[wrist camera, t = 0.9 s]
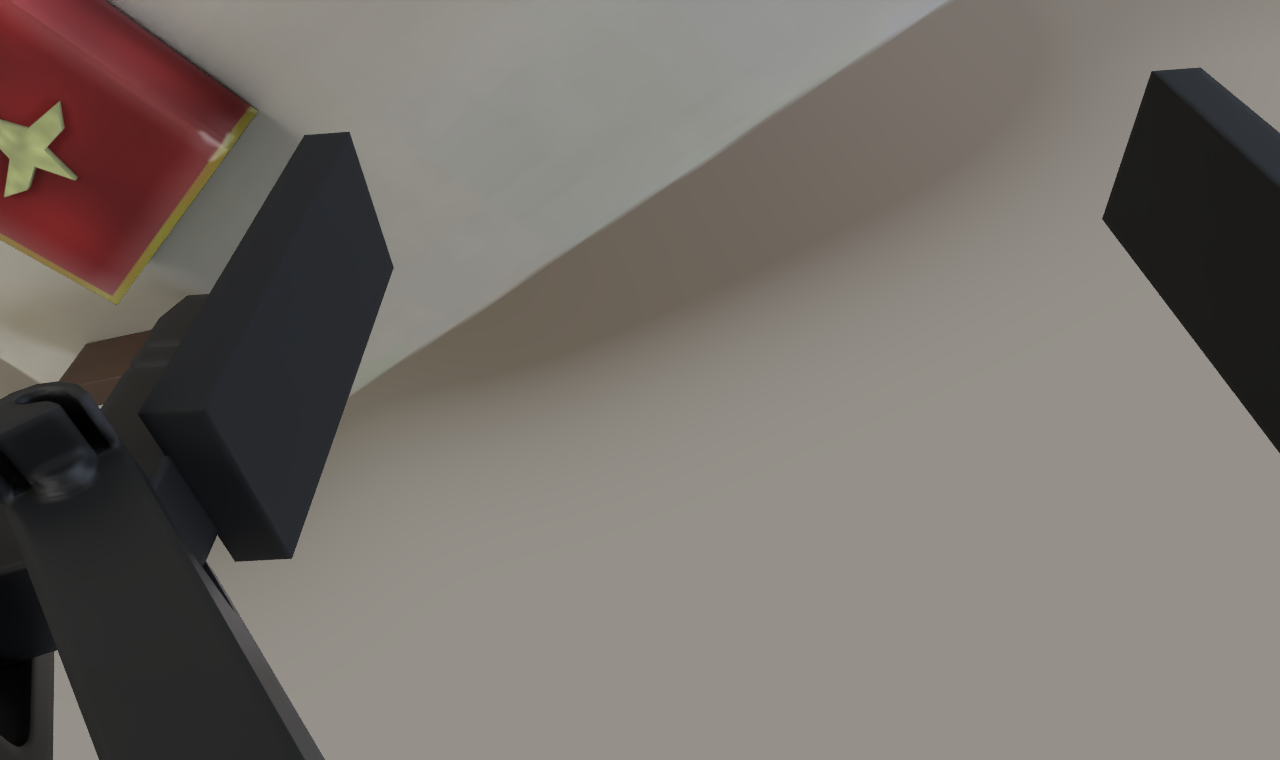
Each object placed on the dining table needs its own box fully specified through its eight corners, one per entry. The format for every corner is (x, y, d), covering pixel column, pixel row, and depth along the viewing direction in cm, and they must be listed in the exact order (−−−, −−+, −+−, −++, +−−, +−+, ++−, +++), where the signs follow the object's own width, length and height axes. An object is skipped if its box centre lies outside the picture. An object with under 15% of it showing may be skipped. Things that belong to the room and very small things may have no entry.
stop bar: (85, 343, 49) (50, 390, 46) (243, 309, 48) (218, 356, 45) (103, 363, 50) (70, 411, 47) (258, 331, 49) (234, 378, 46)
